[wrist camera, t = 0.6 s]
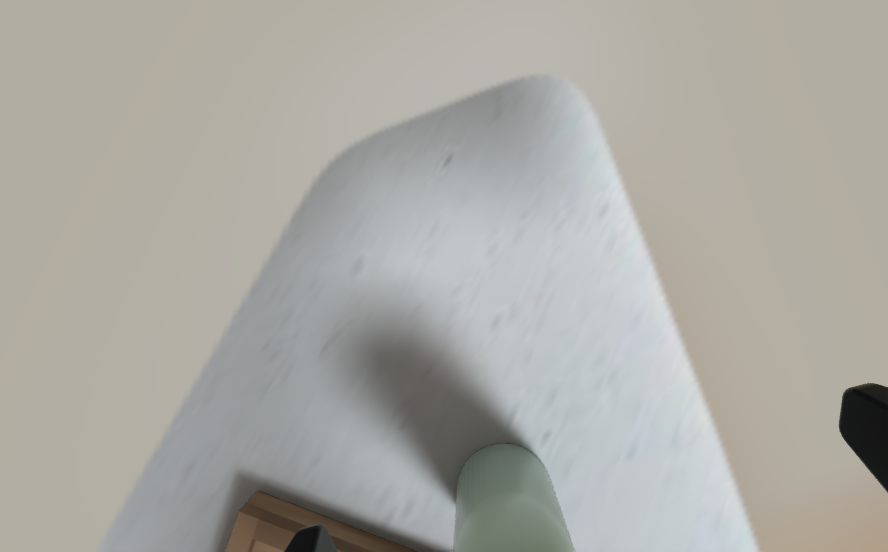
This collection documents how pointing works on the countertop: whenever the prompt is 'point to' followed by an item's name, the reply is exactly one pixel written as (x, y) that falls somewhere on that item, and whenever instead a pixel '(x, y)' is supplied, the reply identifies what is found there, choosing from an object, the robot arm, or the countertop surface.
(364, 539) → the walnut tray
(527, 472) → the sage cylinder
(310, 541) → the robot arm
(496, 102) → the countertop surface
